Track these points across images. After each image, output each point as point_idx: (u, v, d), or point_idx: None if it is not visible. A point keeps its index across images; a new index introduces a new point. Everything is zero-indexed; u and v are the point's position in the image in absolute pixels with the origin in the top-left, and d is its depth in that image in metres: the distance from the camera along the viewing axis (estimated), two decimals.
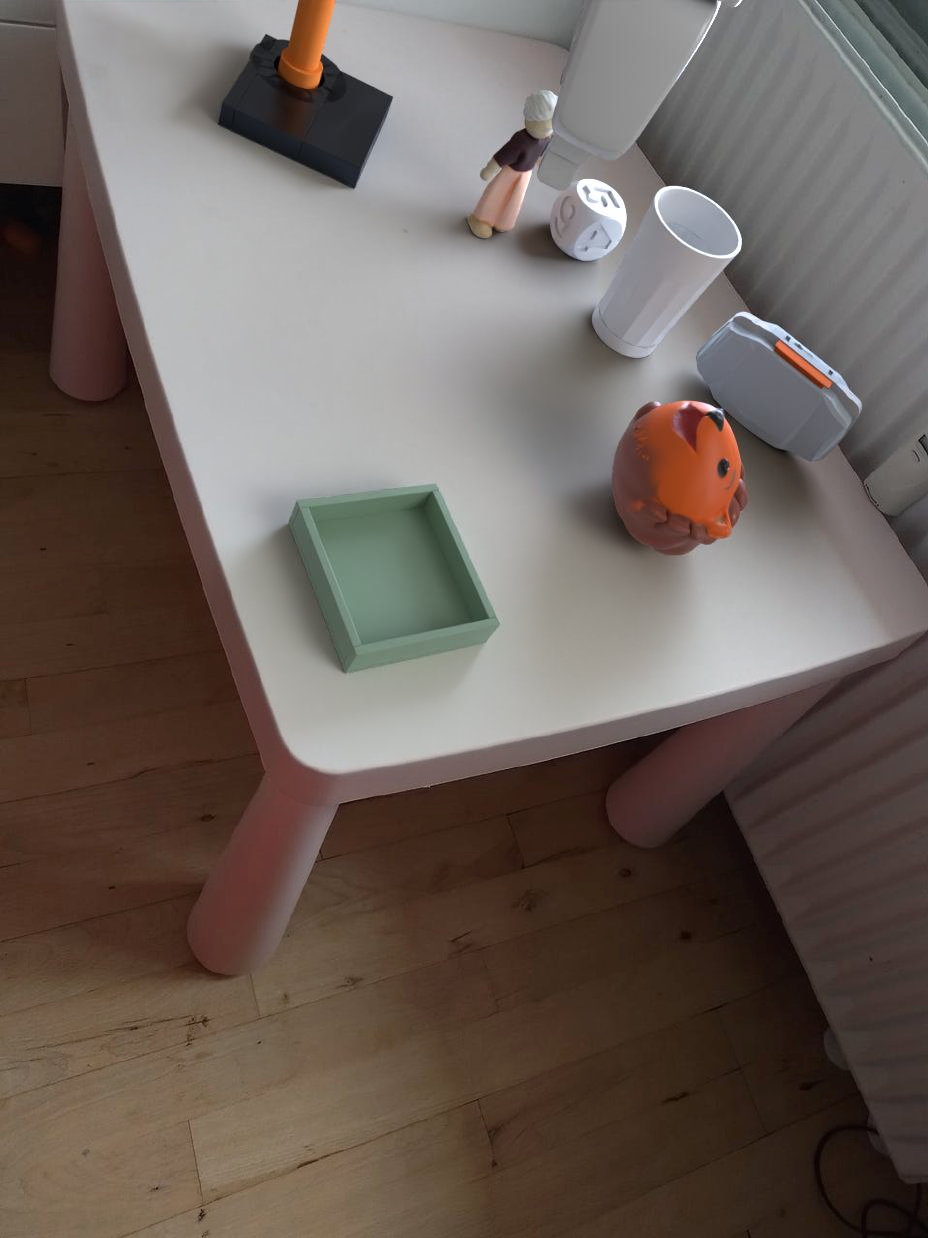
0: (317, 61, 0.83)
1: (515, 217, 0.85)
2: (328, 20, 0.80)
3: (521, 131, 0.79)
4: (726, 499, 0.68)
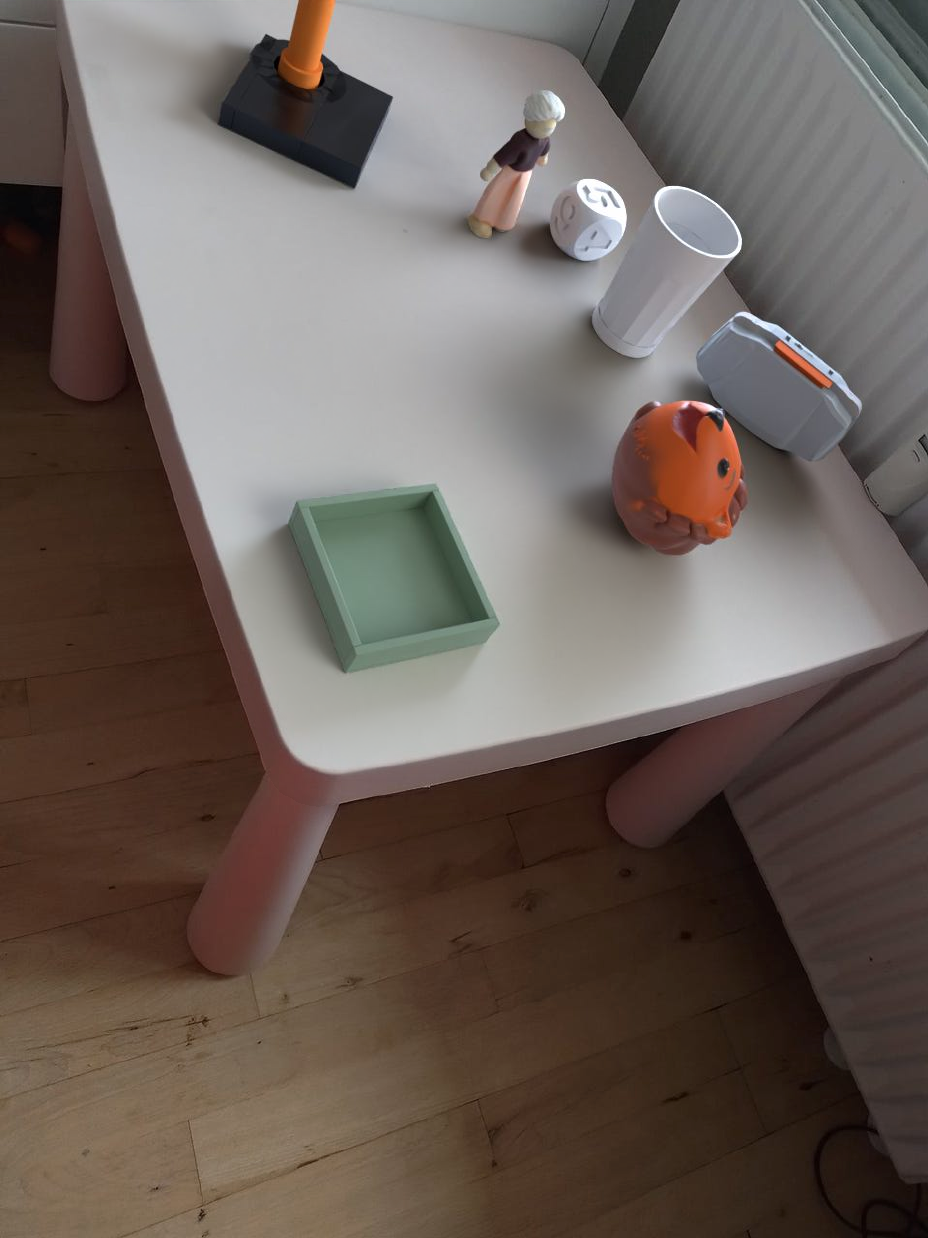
0: (317, 61, 0.83)
1: (515, 217, 0.85)
2: (328, 20, 0.80)
3: (521, 131, 0.79)
4: (726, 499, 0.68)
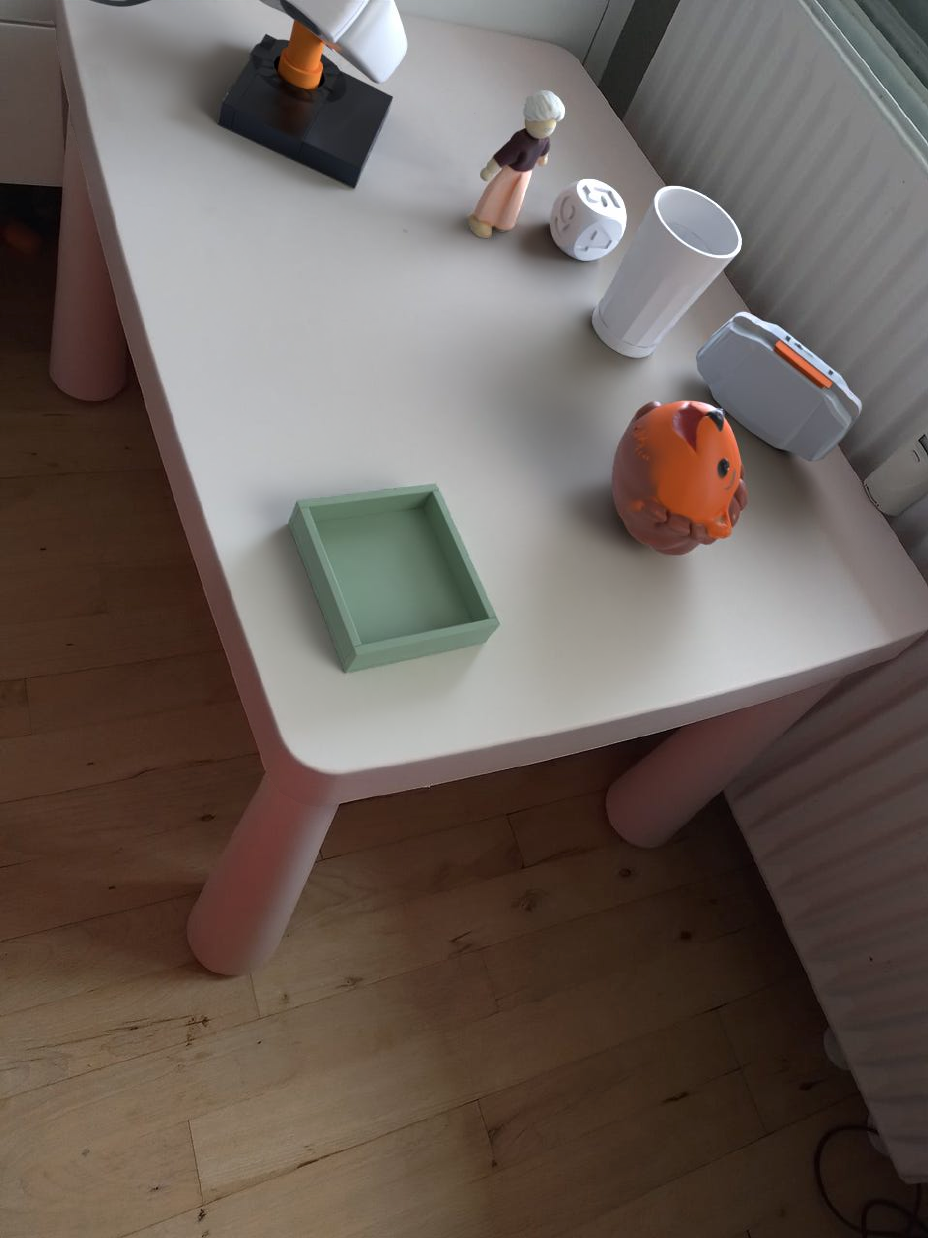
0: (317, 61, 0.83)
1: (515, 217, 0.85)
2: None
3: (521, 131, 0.79)
4: (726, 499, 0.68)
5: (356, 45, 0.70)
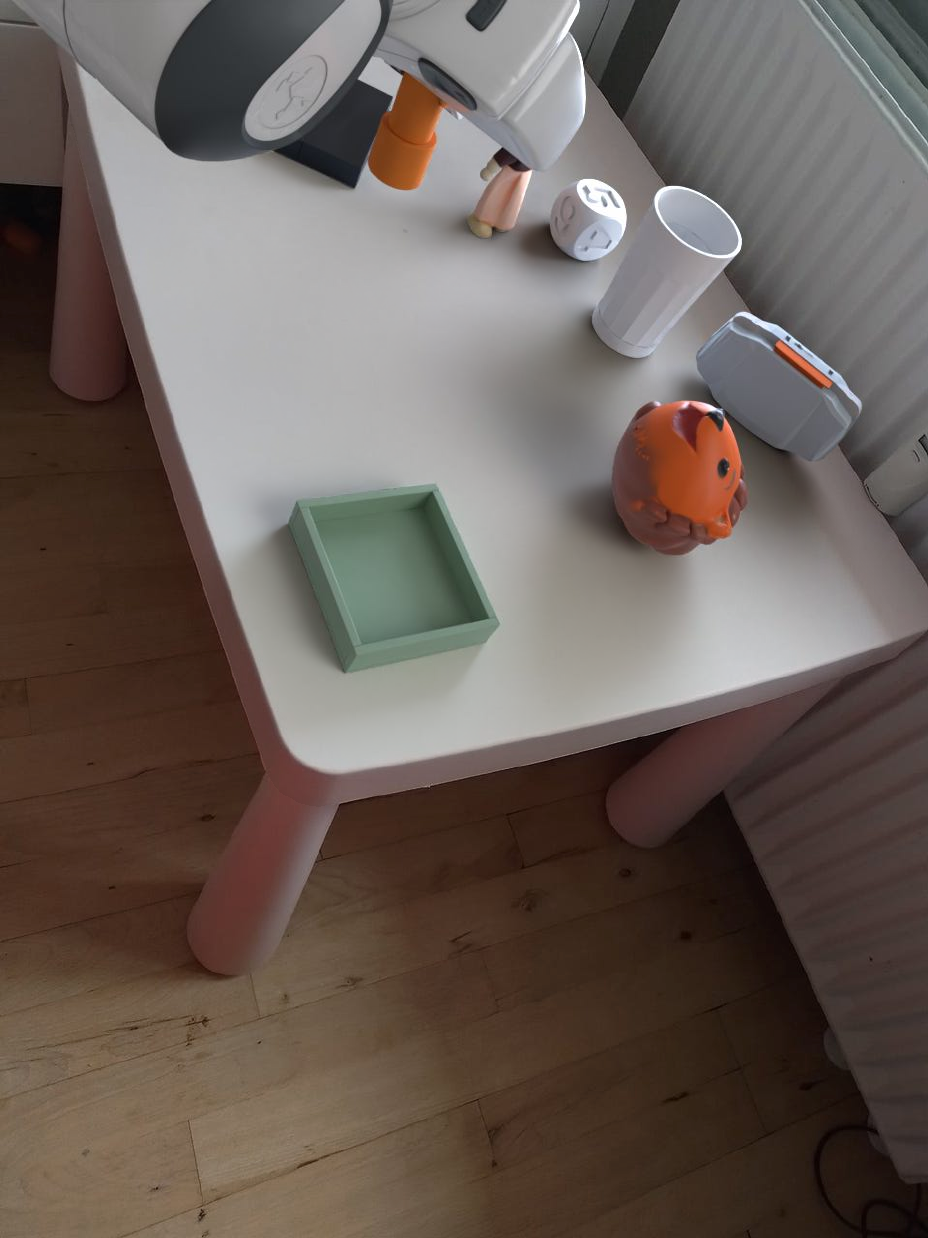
0: (432, 131, 0.59)
1: (515, 217, 0.85)
2: None
3: None
4: (726, 499, 0.68)
5: (524, 124, 0.47)
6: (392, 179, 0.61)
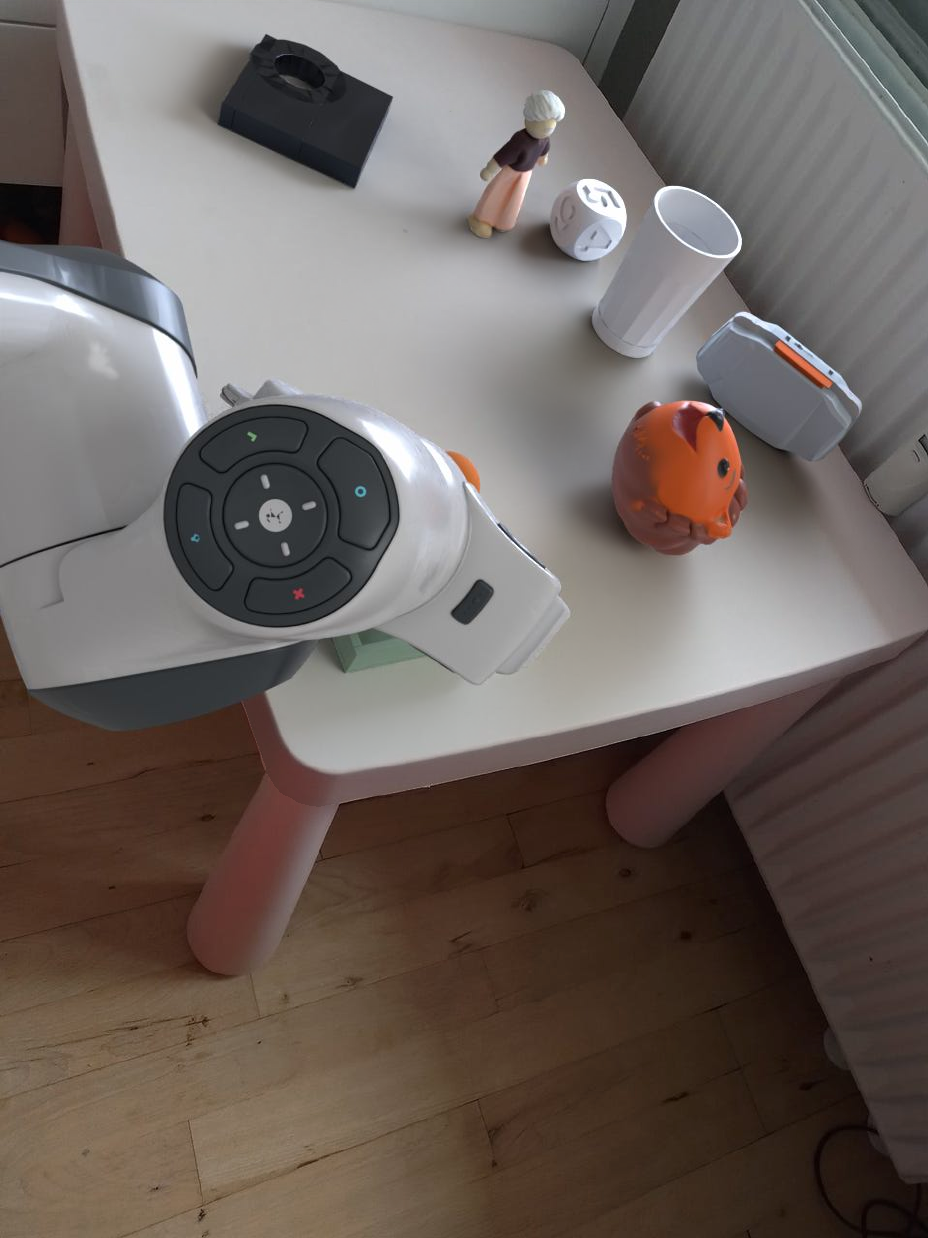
0: None
1: (515, 217, 0.85)
2: None
3: (521, 131, 0.79)
4: (726, 499, 0.68)
5: (509, 668, 0.48)
6: None
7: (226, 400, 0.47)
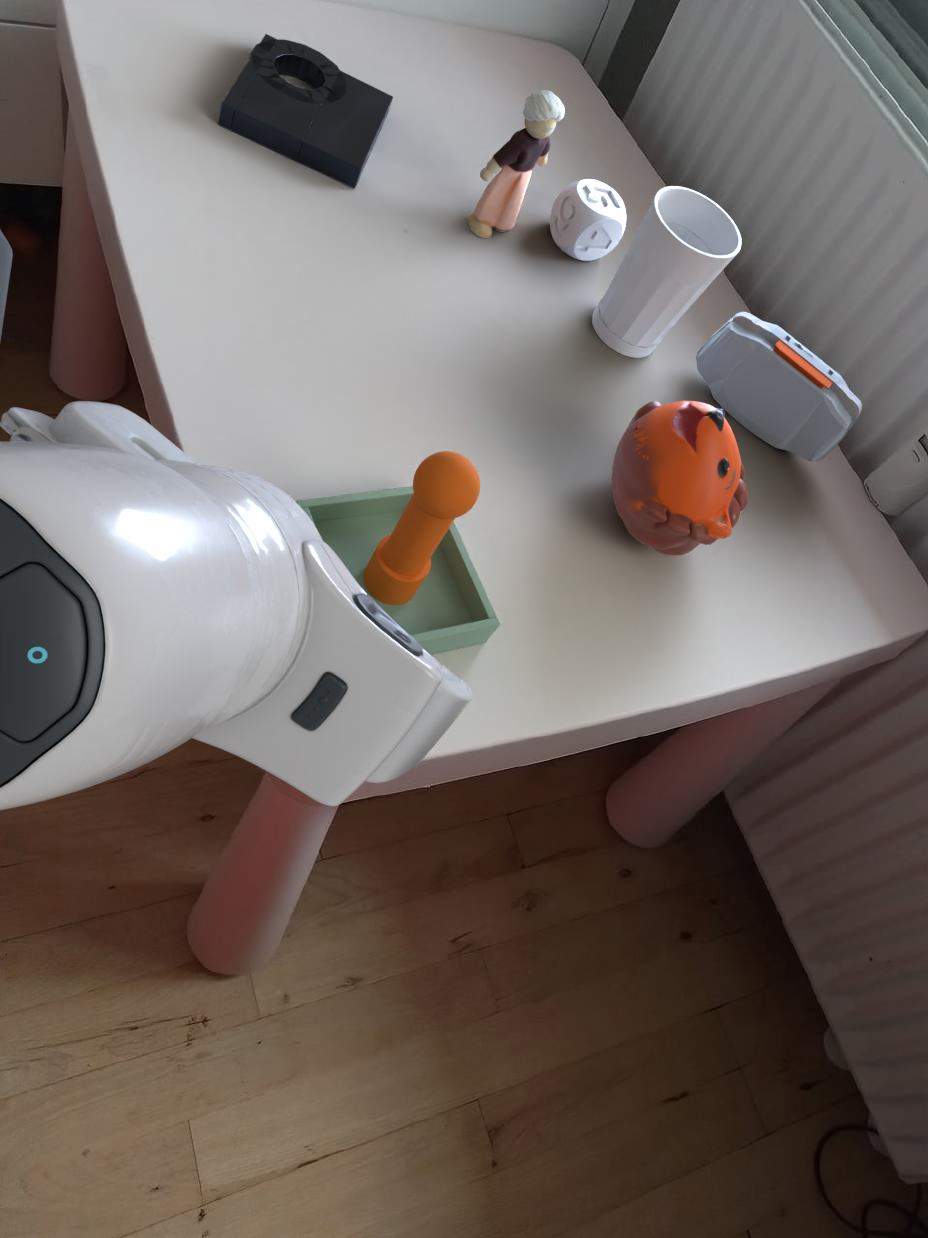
0: (426, 564, 0.60)
1: (515, 217, 0.85)
2: (446, 531, 0.57)
3: (521, 131, 0.79)
4: (726, 499, 0.68)
5: (383, 776, 0.37)
6: (386, 599, 0.62)
7: (7, 430, 0.36)
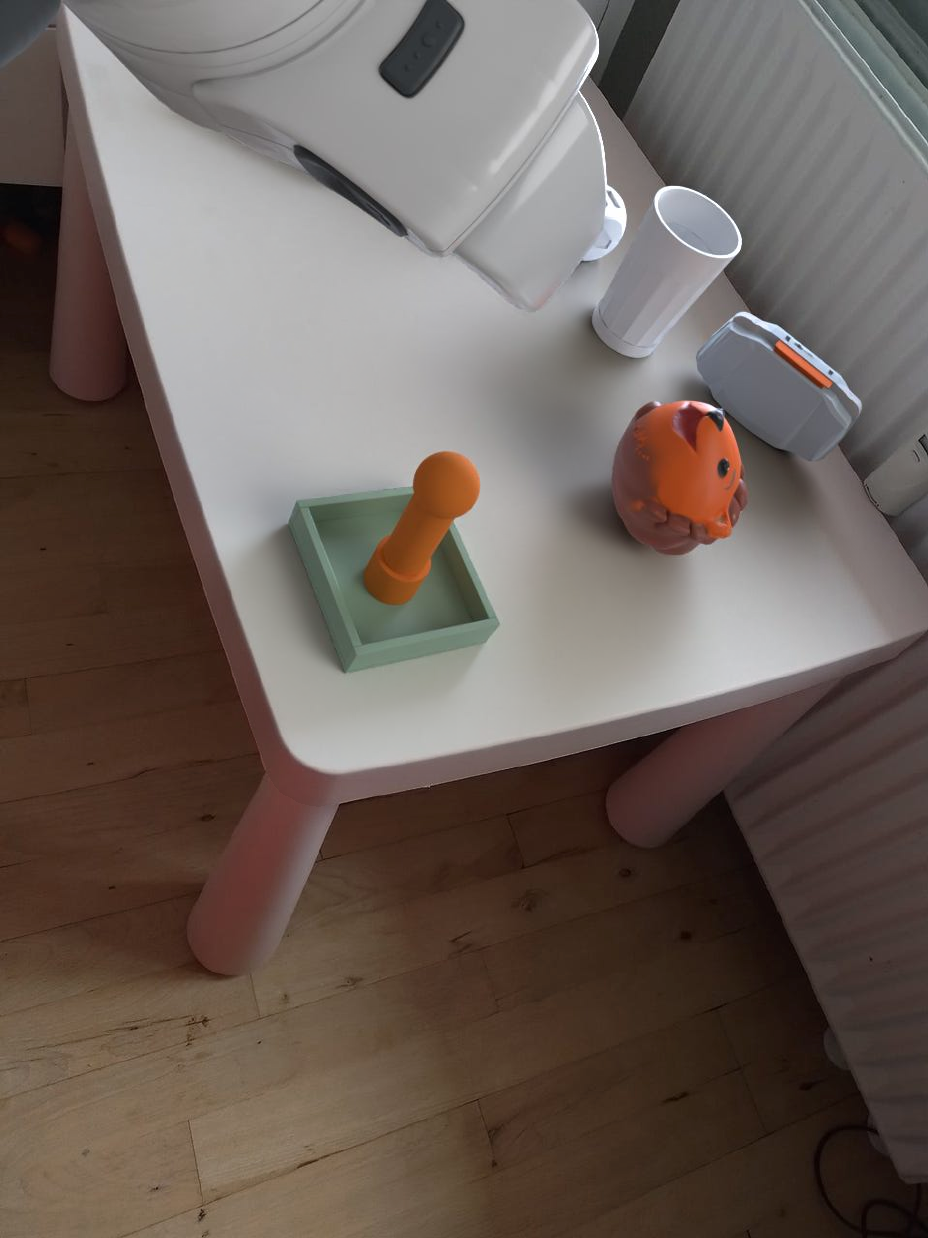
0: (426, 564, 0.60)
1: None
2: (446, 531, 0.57)
3: None
4: (726, 499, 0.68)
5: (497, 255, 0.26)
6: (386, 599, 0.62)
7: None
